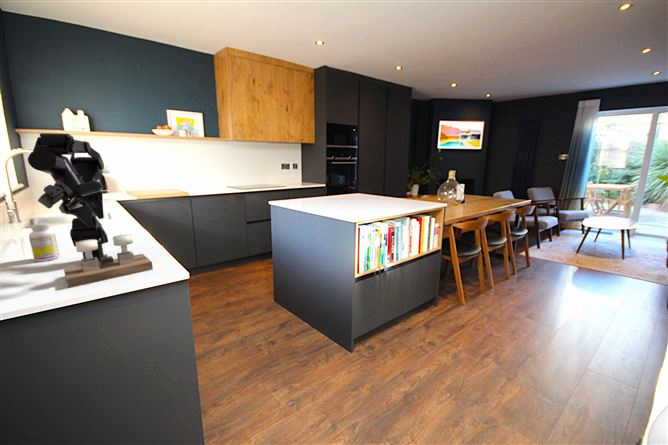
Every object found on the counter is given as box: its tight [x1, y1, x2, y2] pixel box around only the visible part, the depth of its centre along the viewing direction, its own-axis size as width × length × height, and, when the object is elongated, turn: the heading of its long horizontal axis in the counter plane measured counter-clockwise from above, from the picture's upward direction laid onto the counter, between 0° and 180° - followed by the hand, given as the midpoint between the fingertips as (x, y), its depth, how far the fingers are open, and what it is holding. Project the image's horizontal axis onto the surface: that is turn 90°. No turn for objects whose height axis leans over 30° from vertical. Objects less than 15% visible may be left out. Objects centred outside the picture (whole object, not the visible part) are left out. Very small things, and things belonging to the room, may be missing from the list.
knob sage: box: [112, 234, 134, 254], centre depth 96 cm, size 5×5×6 cm
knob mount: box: [63, 250, 154, 289], centre depth 95 cm, size 12×21×6 cm, turn 134°
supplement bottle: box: [28, 222, 60, 262], centre depth 107 cm, size 7×7×13 cm
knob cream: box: [75, 240, 98, 260], centre depth 90 cm, size 5×5×6 cm
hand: (96, 222), depth 91 cm, fingers open, 9 cm apart
